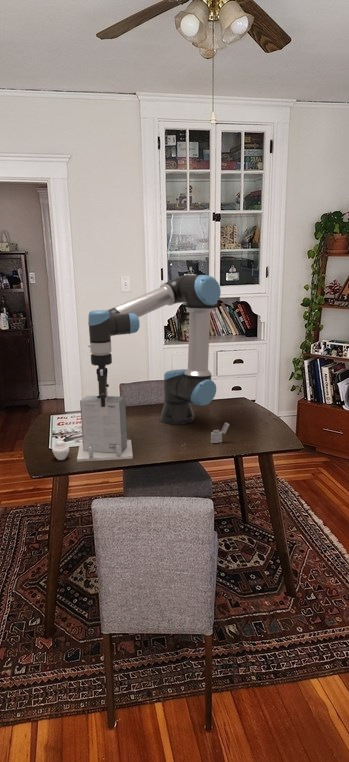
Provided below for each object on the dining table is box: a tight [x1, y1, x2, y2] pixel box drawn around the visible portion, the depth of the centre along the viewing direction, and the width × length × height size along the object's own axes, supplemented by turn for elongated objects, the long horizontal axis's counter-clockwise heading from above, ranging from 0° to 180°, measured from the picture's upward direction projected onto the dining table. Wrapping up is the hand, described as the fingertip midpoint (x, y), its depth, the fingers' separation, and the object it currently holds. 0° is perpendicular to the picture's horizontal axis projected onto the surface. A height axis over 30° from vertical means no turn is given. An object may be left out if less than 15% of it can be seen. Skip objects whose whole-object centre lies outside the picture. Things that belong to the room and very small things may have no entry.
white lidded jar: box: [52, 440, 70, 461], centre depth 179 cm, size 6×6×7 cm
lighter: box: [210, 422, 230, 444], centre depth 193 cm, size 7×2×8 cm, turn 103°
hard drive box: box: [79, 395, 128, 453], centre depth 184 cm, size 16×8×20 cm, turn 79°
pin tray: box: [76, 439, 134, 463], centre depth 185 cm, size 20×18×5 cm
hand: (104, 409), depth 182 cm, fingers open, 13 cm apart
